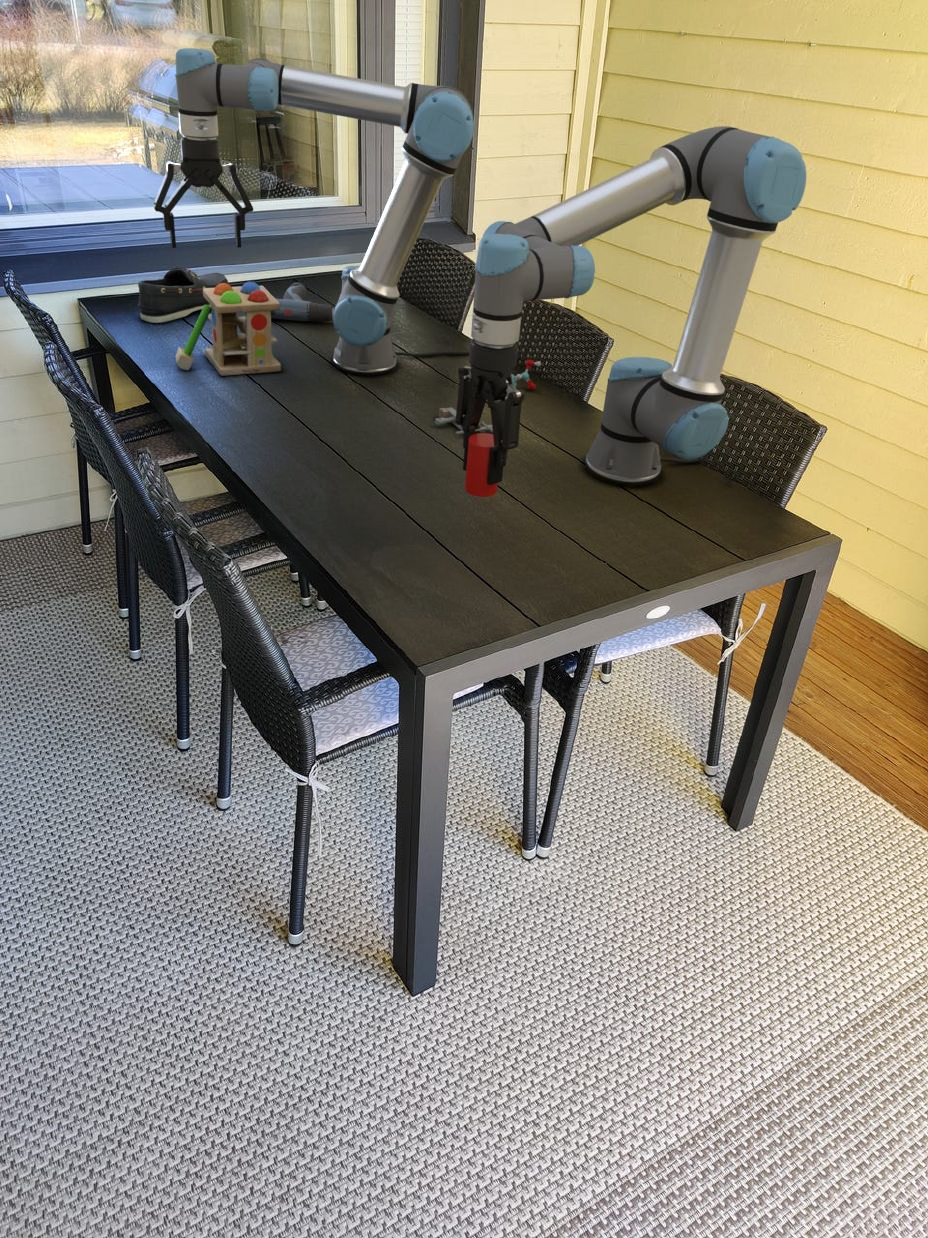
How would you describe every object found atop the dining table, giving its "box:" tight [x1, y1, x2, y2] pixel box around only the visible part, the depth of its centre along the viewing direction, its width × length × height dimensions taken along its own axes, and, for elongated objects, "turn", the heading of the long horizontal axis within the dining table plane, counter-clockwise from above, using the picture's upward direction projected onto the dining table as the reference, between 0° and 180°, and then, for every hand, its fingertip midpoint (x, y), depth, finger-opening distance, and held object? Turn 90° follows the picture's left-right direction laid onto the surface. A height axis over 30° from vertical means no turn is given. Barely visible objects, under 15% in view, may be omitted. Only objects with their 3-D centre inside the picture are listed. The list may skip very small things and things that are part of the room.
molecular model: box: [511, 359, 542, 391], centre depth 230 cm, size 12×10×10 cm
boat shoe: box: [137, 266, 230, 324], centre depth 260 cm, size 13×33×10 cm, turn 147°
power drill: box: [271, 282, 335, 322], centre depth 265 cm, size 5×19×20 cm
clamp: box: [434, 407, 493, 435], centre depth 210 cm, size 15×2×10 cm
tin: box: [464, 432, 499, 498], centre depth 165 cm, size 6×6×9 cm
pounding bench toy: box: [174, 281, 282, 377], centre depth 225 cm, size 23×14×18 cm, turn 116°
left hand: (206, 246), depth 210 cm, fingers open, 13 cm apart
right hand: (482, 475), depth 166 cm, fingers closed on tin, 5 cm apart
